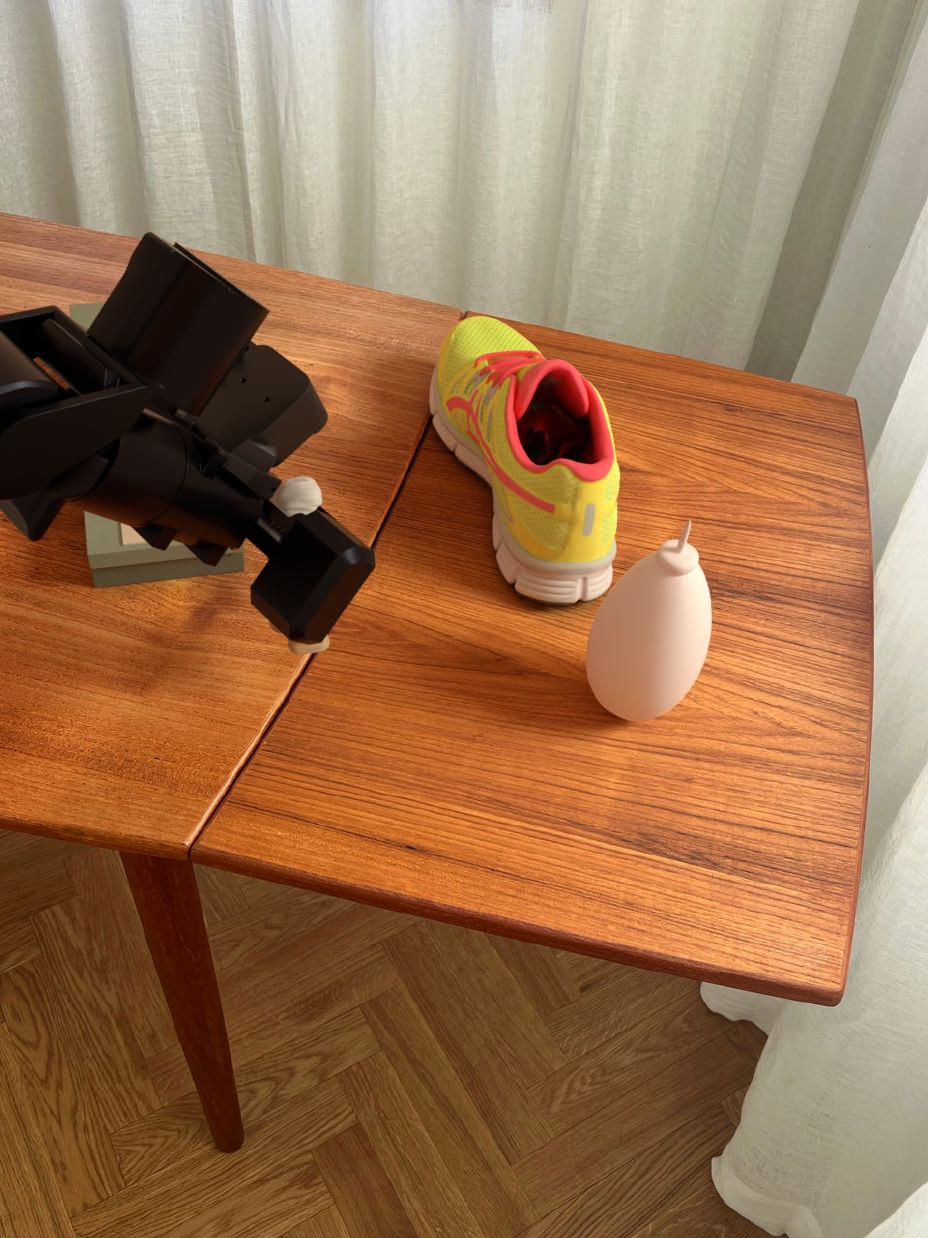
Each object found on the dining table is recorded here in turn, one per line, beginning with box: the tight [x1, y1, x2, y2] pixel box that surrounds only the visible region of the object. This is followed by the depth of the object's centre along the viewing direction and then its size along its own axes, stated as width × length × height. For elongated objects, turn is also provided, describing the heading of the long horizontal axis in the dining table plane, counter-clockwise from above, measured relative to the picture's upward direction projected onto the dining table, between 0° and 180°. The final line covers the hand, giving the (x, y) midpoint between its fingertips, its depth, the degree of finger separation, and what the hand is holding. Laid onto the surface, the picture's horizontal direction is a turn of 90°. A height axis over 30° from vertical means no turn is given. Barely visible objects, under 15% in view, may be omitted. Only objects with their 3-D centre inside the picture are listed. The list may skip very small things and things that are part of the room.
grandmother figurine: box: [261, 475, 331, 655], centre depth 69 cm, size 8×4×13 cm, turn 48°
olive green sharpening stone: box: [68, 301, 246, 589], centre depth 92 cm, size 32×11×4 cm, turn 15°
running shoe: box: [428, 315, 621, 606], centre depth 90 cm, size 12×31×14 cm, turn 18°
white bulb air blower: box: [585, 520, 713, 722], centre depth 73 cm, size 8×8×18 cm
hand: (312, 538), depth 69 cm, fingers closed on grandmother figurine, 6 cm apart
